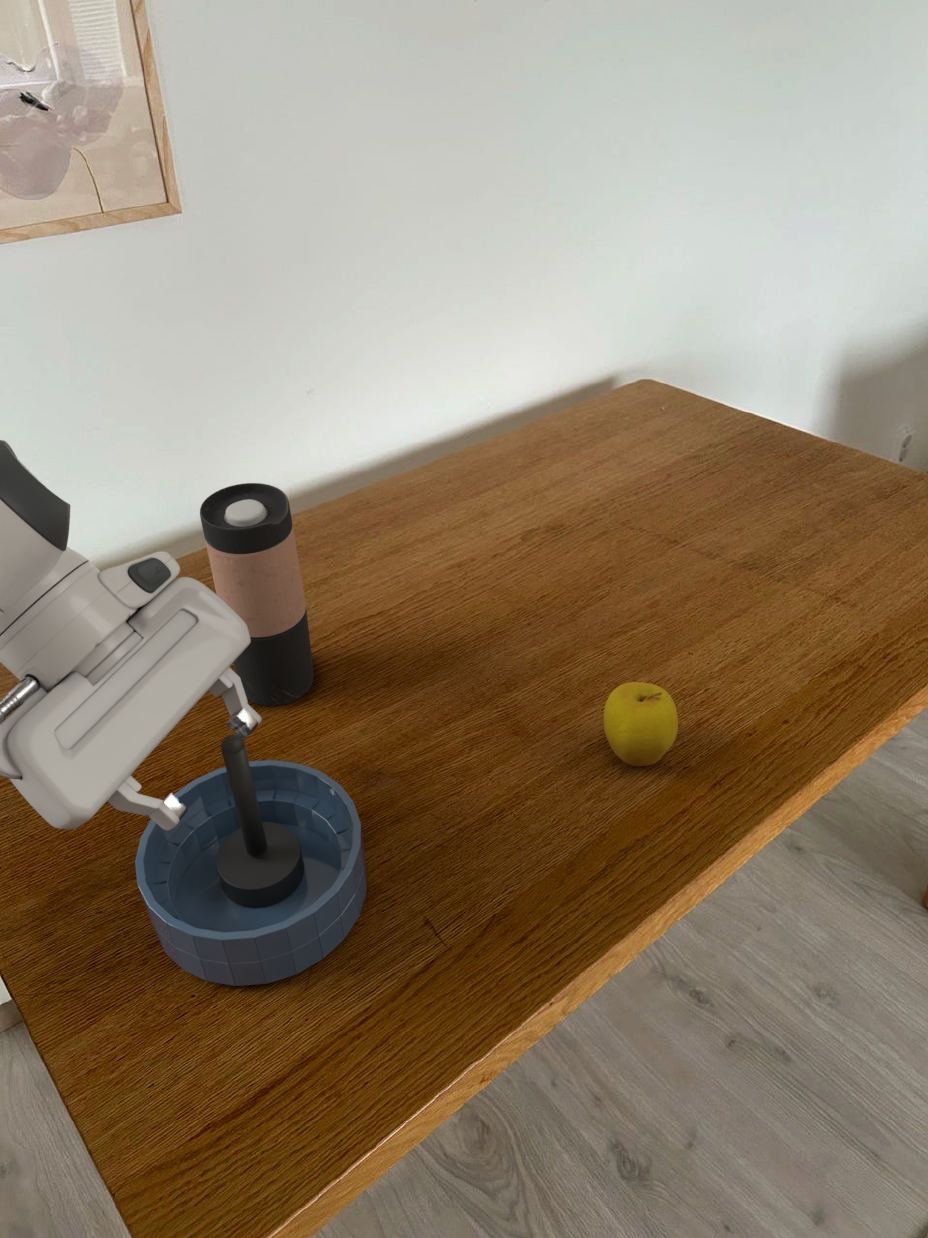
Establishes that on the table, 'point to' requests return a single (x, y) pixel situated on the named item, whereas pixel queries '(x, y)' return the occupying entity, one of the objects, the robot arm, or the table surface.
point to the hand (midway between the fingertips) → (217, 773)
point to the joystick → (255, 843)
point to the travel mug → (261, 588)
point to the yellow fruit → (640, 722)
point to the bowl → (240, 936)
